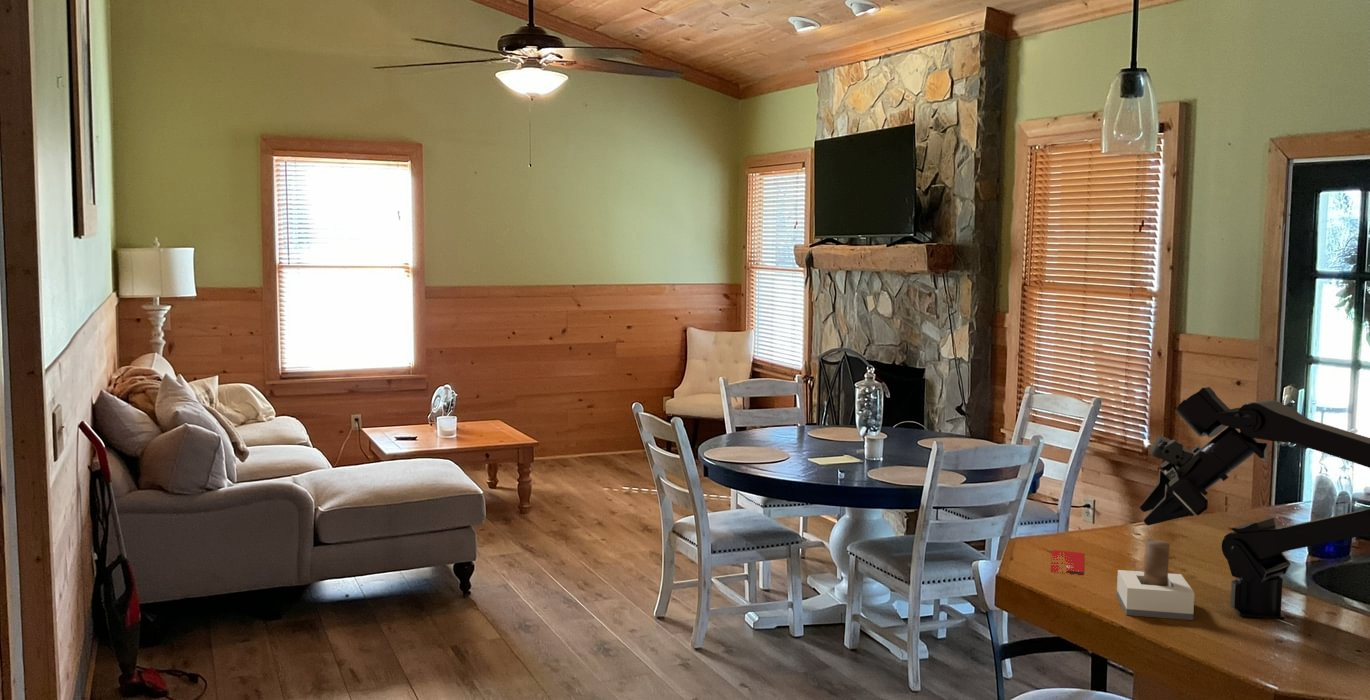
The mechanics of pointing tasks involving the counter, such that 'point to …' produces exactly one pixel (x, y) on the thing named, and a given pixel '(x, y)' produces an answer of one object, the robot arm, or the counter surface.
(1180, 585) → the bore block
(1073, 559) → the electronic device
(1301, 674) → the counter surface
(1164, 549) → the walnut pin
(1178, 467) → the robot arm
